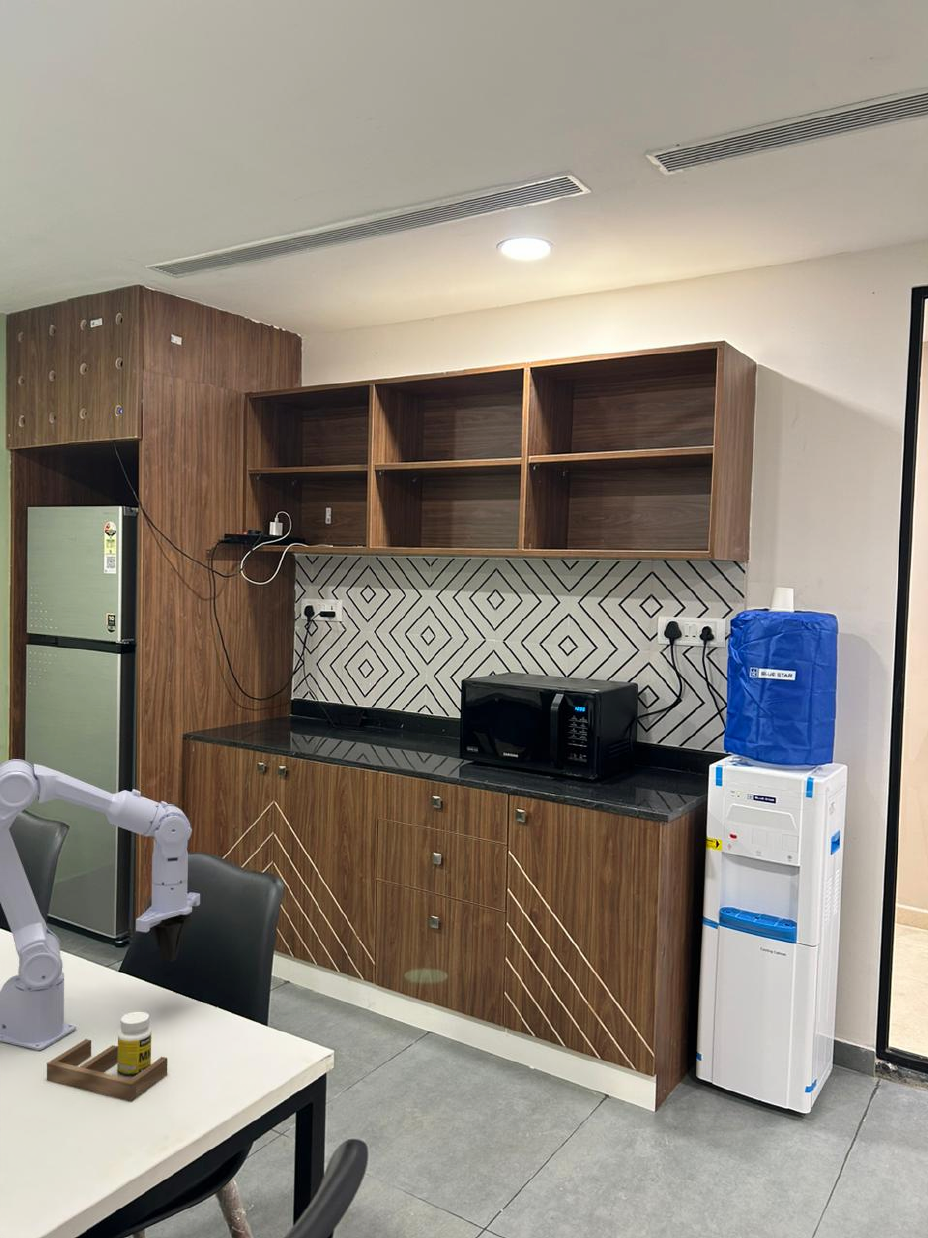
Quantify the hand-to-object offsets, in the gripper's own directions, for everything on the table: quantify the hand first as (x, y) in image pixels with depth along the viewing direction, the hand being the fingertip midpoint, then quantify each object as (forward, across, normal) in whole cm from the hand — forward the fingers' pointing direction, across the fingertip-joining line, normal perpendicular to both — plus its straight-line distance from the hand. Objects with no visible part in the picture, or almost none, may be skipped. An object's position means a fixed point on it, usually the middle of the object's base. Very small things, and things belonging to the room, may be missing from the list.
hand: (168, 960), depth 160 cm
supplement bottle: (+10, -17, -7) cm, 21 cm away
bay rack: (+9, -20, -4) cm, 23 cm away
